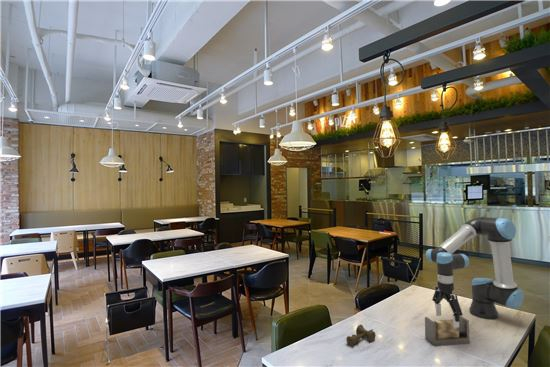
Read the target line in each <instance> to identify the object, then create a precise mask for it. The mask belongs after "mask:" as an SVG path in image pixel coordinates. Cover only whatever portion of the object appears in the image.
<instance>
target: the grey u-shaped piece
mask: <svg viewBox="0 0 550 367" xmlns="http://www.w3.org/2000/svg"><path fill="white" fill-rule="evenodd" d="M424 332H425V333H424V338H425V340H426V341H427V342H428V343H429V344H430V345H431V346H433V347H439V346H440V347H441V346H452V345H453V346H454V345H466V344H470V320H469V319H467V318H465V317H463V315H462V316H459V338H446V339H436V335H435V323H434V321H433V320H431V319H430V318H429V317H427V316H426V317H424Z"/></svg>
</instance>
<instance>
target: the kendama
mask: <svg viewBox="0 0 550 367" xmlns="http://www.w3.org/2000/svg"><path fill="white" fill-rule="evenodd" d="M355 333H356V334H352V335H351V336H350V335H348V336H346V339H345V340H346V343H347V345H348V346H349V345H350V346H349V347H351V346H352V347H354V346H355V344H359V342H360V340H361V339H362V338H363V337H365V338H366V339H367V340H368V341H369V343H372V342H374V341H375V339H376V337H377V336H376V332H375V331H374V329H369V330H366V329H365V327H364V326H363V324H358V325H357V327H356V329H355Z"/></svg>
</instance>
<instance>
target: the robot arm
mask: <svg viewBox="0 0 550 367" xmlns="http://www.w3.org/2000/svg"><path fill="white" fill-rule="evenodd" d="M516 233H517V230H516V225H515V224H514V222H513V221H511V220H510V219H508V218H503V217H492V216H490V217H488V216H477V217H474V218H471V219H469V220H468V221H466V222H464V223H463V224H462V225H461V226H460V228H459V230H457V231H456V232H454V233H453V234H452V235H451V236H450V237H448V238H447V239H446V240H444V241H443V242H442V243H441V244H440V245H438V246H437V247H436V248H435V249H434V248H429V249H427V250H426V252H425V258H426V260H427V261H428V262H431V263H434V264H436V270H437V271H436V272H437V275H436V276H437V286H435V291H434V293H433V296H432V299H431V301H433V303H434V305H435V306H434V307H435V316H436V317H440V316H442V304H441V302H442V301H443V300H444V301H446V302H447V303H448V304H449V306H450V308H451V311H452V313H453V314H452V319H453V327H454V328H457V327H459V316H462V317H463V311H462V309H461V306H460V303H459V299H458V295H457V294H453V291H454V290H455V287H454V286H455V285H454V282H455V281H454V270H458V269H464V268H467V267H469V265H470V259H469V257H468V256H467V254H465V253H457V254H456V253H455V252H456V251H457V250H458V249H459V248H461V247H462V246H463V245H465V243H467V242H468V241H469V240H471V239H473V238H476V237H477V236H486V240H487V241H488V242H489V243H490V244H491V253H492V261H493V269H494V278H495V280H494V279H493V278H490V277H474V278H473V279H472V280H471V294H472V295H471V298H472V299H471V300H472V301H471V303H470V306H469V310H468V311H469V313H470V314H471V315H473V316H475V317H477V318H480V319H486V320H496V319H498V318H499V312H498V310H497V308H496V305H495V304H499V305H501V306H505V307H506V308H511V309H518V308H520V307H521V305H522V303H523V302H524V298H525V296H524V292H523V290H521V289H519V287H518V283H517V282H515V281H514V274H513V266H512V259H511V258H512V256H511V249H510V243H511V242H512V241H513V239H515V237H516Z"/></svg>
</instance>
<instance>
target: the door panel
mask: <svg viewBox="0 0 550 367" xmlns="http://www.w3.org/2000/svg"><path fill="white" fill-rule="evenodd" d="M433 322H434V323H435V335H436V339H446V338H459V327H457V328H454V327H453V318H451V319H440V320H439V319H438V320H434V321H433Z"/></svg>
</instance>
